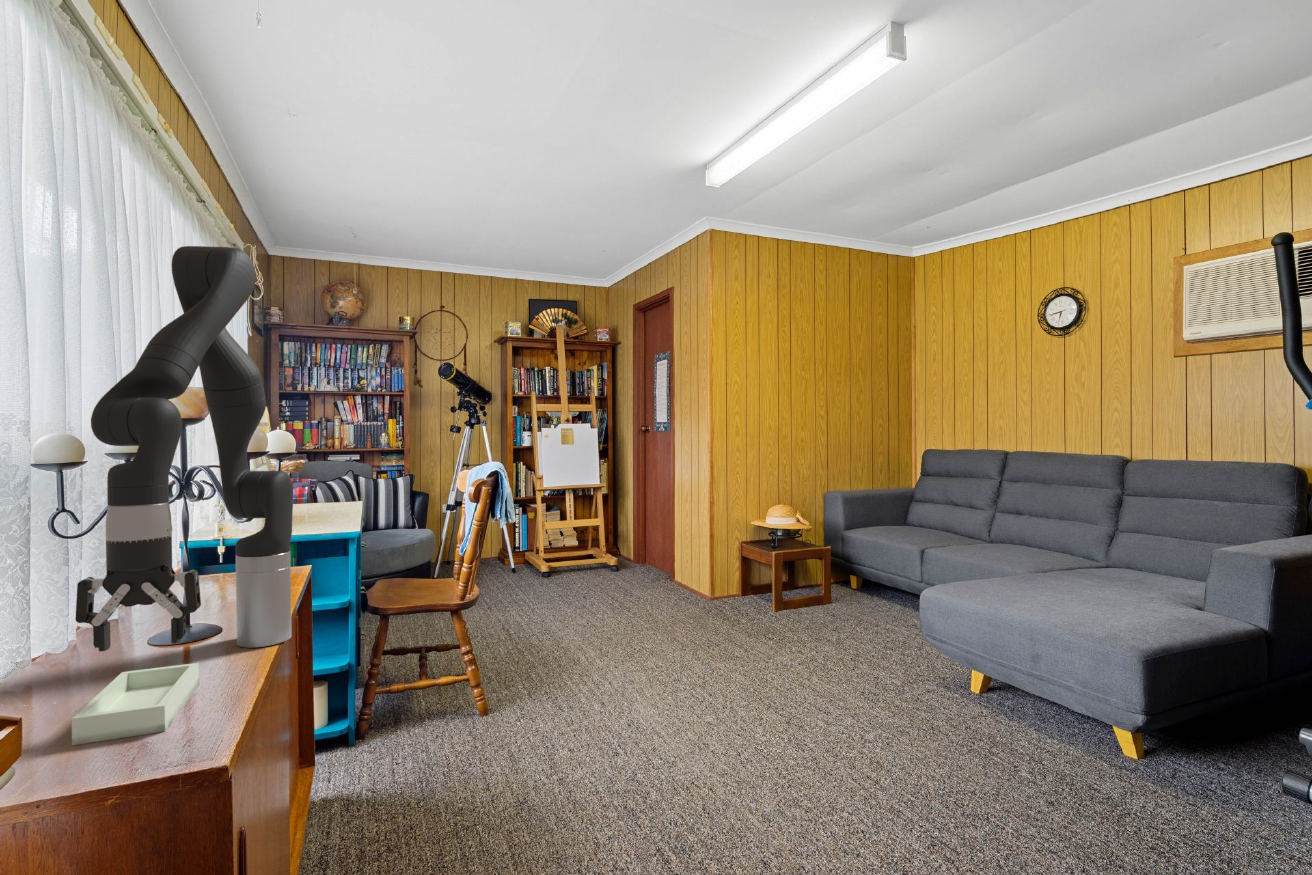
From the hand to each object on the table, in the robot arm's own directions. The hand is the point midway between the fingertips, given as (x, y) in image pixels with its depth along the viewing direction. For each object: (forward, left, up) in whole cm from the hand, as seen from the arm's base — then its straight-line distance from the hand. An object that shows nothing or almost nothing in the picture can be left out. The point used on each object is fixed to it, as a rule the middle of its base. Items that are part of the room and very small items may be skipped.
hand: (141, 645), depth 95 cm
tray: (0, 0, -10) cm, 10 cm away
